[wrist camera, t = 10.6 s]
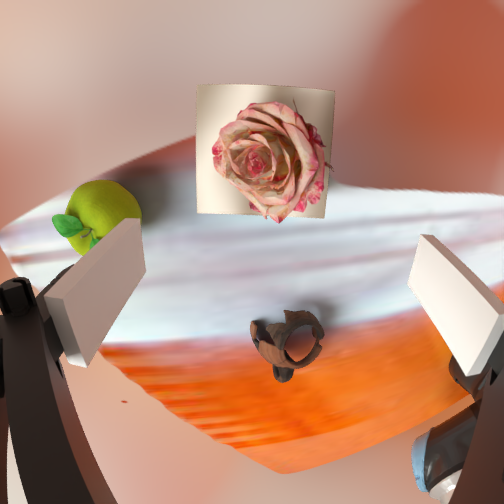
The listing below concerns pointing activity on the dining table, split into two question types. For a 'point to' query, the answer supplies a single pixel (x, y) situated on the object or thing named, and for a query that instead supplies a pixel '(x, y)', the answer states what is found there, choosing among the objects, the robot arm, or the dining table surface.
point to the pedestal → (226, 110)
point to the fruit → (95, 213)
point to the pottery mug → (279, 334)
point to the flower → (272, 159)
